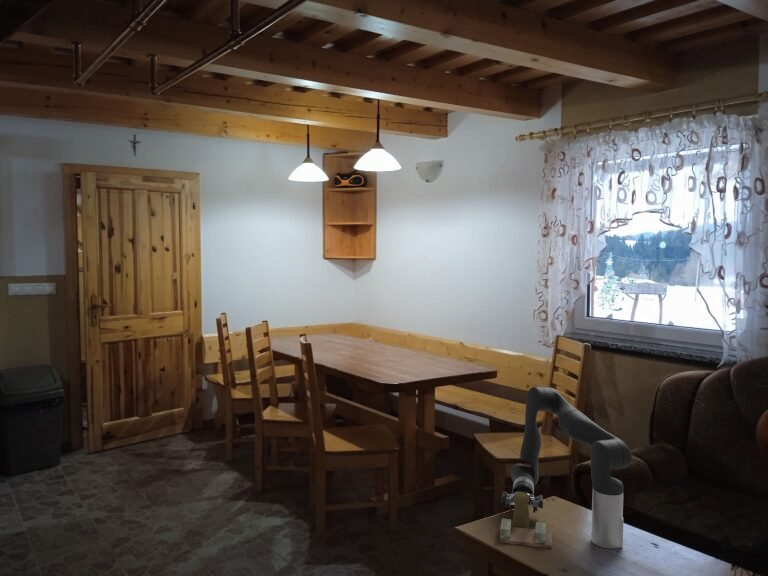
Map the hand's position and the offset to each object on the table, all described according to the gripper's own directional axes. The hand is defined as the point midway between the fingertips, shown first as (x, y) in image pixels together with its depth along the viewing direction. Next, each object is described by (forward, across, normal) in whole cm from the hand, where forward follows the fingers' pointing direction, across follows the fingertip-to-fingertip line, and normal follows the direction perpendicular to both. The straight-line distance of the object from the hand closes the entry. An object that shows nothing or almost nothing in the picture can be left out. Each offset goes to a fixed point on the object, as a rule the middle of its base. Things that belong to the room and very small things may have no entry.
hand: (521, 508), depth 210 cm
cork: (0, 0, +6) cm, 6 cm away
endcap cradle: (+9, +1, +6) cm, 11 cm away
